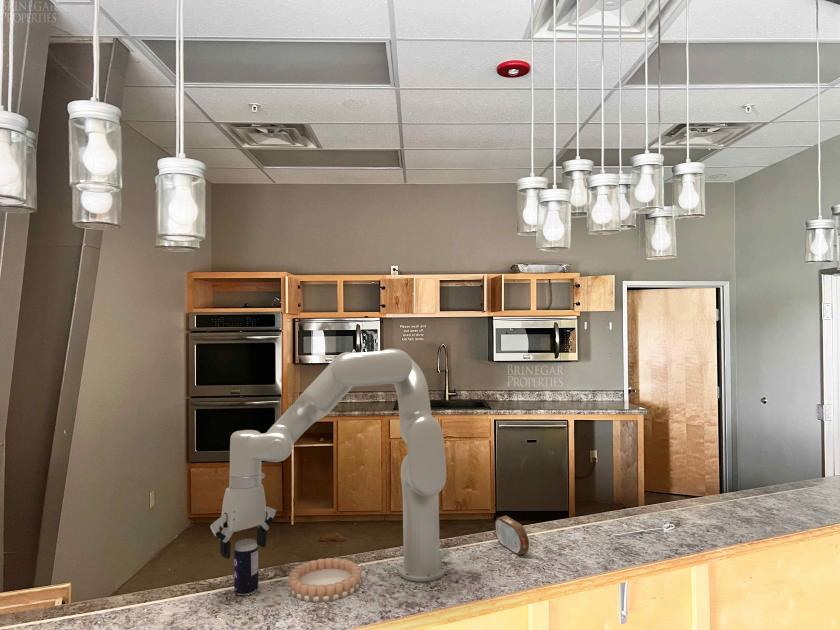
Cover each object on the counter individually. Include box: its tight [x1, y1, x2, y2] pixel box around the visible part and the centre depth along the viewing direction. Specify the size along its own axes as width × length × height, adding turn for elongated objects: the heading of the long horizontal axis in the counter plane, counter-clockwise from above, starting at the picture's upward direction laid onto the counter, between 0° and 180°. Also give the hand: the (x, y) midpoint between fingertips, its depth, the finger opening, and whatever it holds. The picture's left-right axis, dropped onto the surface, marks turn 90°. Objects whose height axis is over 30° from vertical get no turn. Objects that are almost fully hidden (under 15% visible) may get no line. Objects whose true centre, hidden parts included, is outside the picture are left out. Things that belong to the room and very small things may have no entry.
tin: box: [494, 515, 530, 556], centre depth 157 cm, size 15×3×8 cm, turn 22°
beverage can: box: [233, 538, 259, 596], centre depth 133 cm, size 6×6×12 cm
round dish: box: [287, 557, 363, 603], centre depth 136 cm, size 18×18×3 cm
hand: (243, 551), depth 133 cm, fingers open, 9 cm apart
